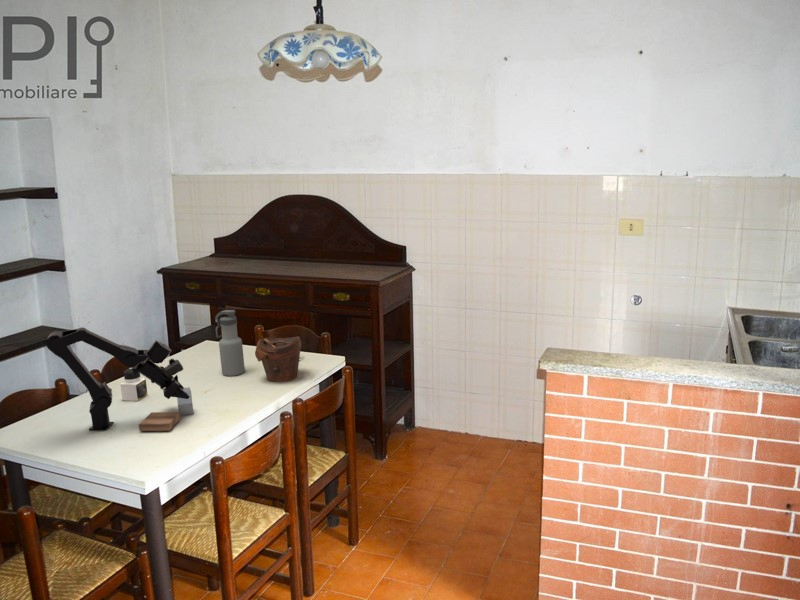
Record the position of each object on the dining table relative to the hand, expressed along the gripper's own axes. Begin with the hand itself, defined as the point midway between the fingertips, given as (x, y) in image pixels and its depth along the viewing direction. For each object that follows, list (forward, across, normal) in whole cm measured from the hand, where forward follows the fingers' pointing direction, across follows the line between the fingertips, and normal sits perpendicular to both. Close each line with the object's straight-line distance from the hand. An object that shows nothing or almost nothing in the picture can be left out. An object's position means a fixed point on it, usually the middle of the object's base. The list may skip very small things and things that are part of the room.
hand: (188, 395), depth 266 cm
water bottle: (+20, +39, -11) cm, 45 cm away
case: (+33, +23, -23) cm, 46 cm away
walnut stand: (-3, -9, +12) cm, 16 cm away
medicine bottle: (-8, +27, +18) cm, 33 cm away
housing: (+4, 0, +6) cm, 7 cm away
